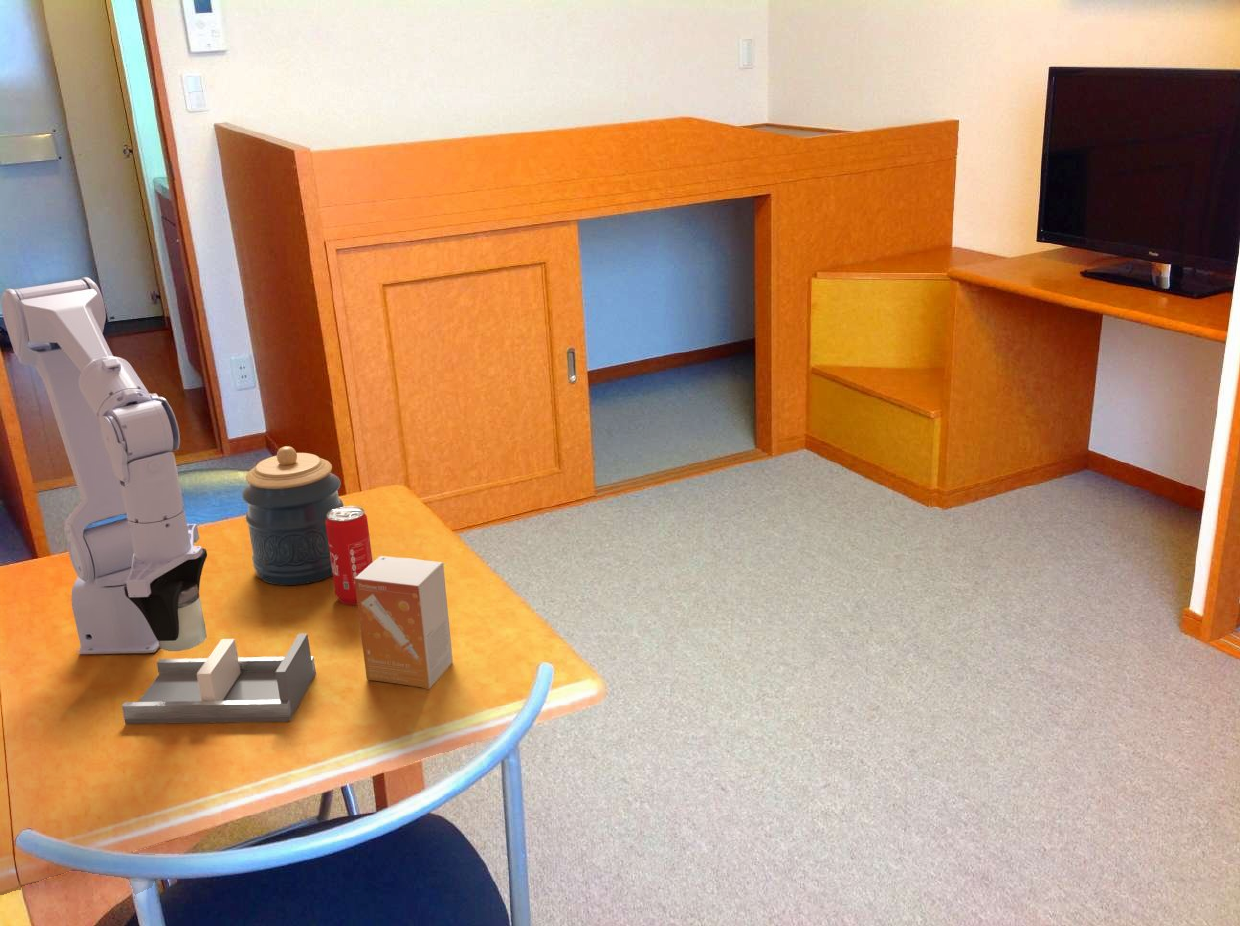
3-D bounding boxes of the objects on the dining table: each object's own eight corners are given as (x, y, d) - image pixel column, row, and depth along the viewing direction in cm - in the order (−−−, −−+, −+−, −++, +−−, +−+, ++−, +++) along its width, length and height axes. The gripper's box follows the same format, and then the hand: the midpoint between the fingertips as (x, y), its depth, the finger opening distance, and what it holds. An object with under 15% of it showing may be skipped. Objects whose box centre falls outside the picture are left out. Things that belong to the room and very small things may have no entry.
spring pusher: (203, 709, 126) (196, 673, 124) (227, 673, 133) (221, 639, 131) (216, 709, 126) (210, 673, 124) (240, 672, 133) (234, 638, 131)
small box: (365, 681, 132) (351, 577, 127) (392, 654, 137) (380, 553, 133) (430, 690, 129) (418, 585, 125) (454, 662, 135) (444, 560, 131)
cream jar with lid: (152, 652, 126) (142, 603, 124) (167, 630, 131) (157, 582, 129) (199, 649, 126) (190, 600, 124) (212, 627, 131) (203, 579, 129)
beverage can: (367, 608, 149) (356, 522, 145) (329, 605, 150) (317, 520, 146) (382, 590, 154) (372, 506, 149) (346, 587, 155) (335, 504, 150)
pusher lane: (125, 723, 125) (115, 678, 123) (162, 675, 135) (154, 632, 133) (289, 721, 125) (282, 675, 123) (315, 673, 134) (309, 629, 132)
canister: (234, 575, 160) (213, 454, 154) (304, 540, 170) (287, 426, 164) (301, 595, 153) (283, 470, 147) (370, 557, 163) (355, 439, 157)
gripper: (166, 539, 116) (188, 659, 121) (216, 486, 130) (235, 595, 135) (96, 541, 117) (122, 660, 121) (154, 488, 130) (175, 597, 135)
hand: (177, 626), depth 128 cm, fingers closed on cream jar with lid, 5 cm apart
